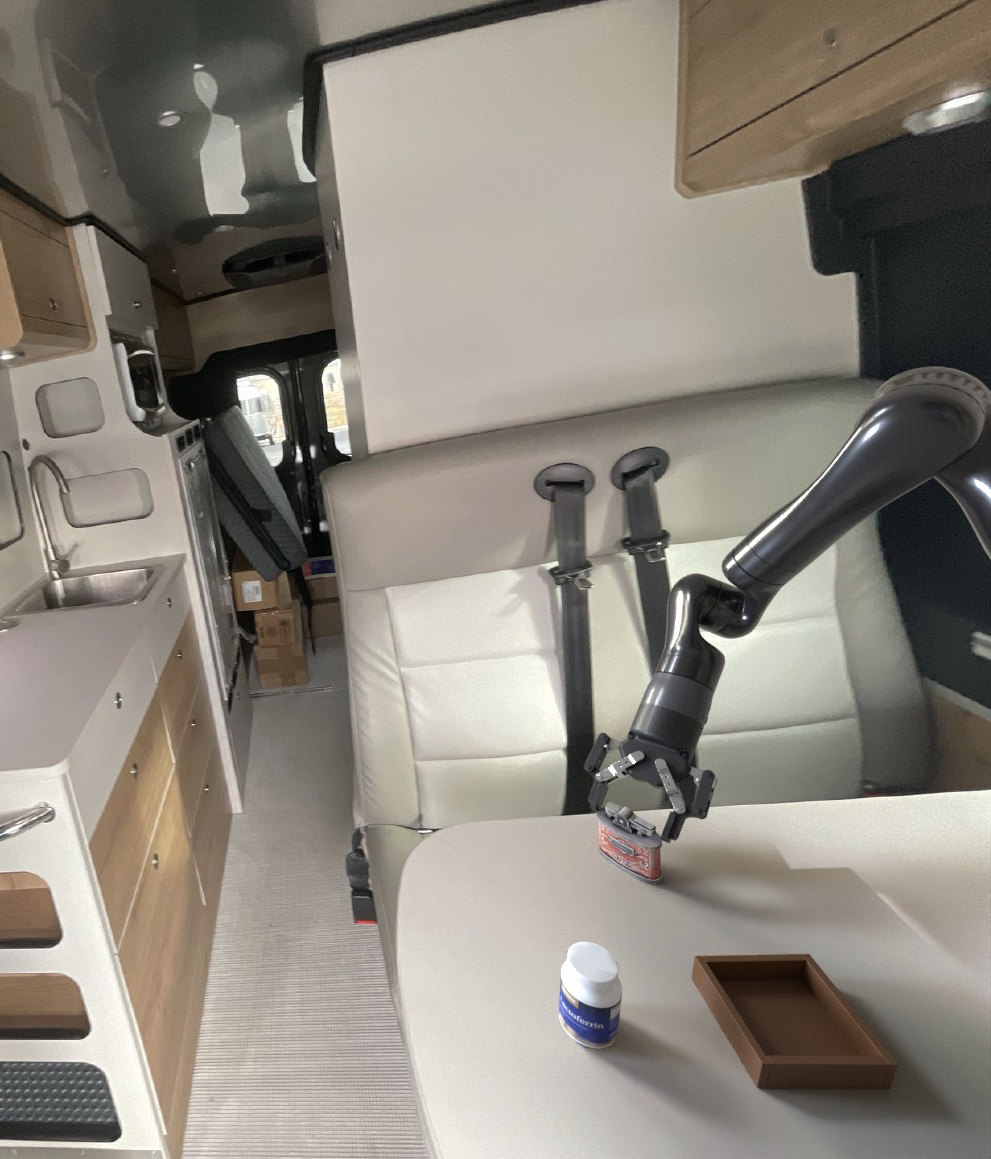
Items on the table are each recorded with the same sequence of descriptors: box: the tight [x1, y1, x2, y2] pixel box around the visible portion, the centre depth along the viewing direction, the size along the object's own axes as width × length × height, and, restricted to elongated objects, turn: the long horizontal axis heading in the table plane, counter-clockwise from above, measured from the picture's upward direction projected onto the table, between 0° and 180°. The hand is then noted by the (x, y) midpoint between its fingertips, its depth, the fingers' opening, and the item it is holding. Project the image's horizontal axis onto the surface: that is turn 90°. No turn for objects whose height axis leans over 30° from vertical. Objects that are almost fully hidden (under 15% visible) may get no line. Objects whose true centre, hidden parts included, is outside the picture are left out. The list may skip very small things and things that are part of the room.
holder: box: [690, 953, 899, 1090], centre depth 69 cm, size 12×12×4 cm
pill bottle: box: [558, 941, 623, 1050], centre depth 71 cm, size 6×6×10 cm
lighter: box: [596, 801, 663, 886], centre depth 89 cm, size 8×3×10 cm, turn 31°
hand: (628, 825), depth 88 cm, fingers closed on lighter, 8 cm apart
